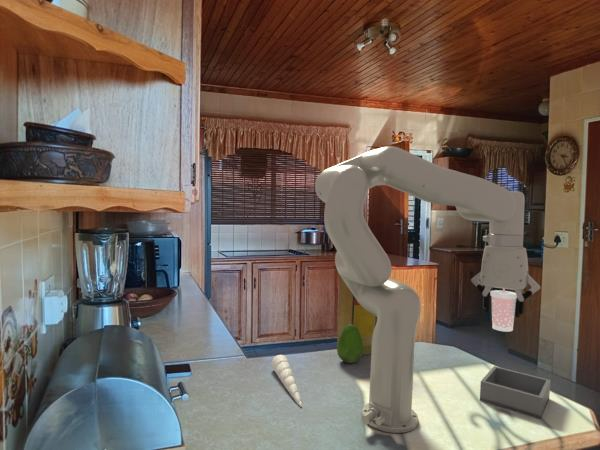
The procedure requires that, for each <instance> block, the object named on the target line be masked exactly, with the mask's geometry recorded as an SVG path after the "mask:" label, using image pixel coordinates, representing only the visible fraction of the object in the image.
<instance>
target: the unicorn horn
mask: <svg viewBox="0 0 600 450" xmlns="http://www.w3.org/2000/svg"><path fill="white" fill-rule="evenodd" d="M271 367H272V369H273V370H274V372H275V374H276V375H277V376H278V379H279V380H280V382H281V383H282V385H283V386H284V387H285V389H286V390H287V392H288V393H289V395H290V396H291V397H292V399H293V400H294V401H295V402H296V404H297V405H298V406H299V407H300V408H303V403H302V401H301V396H300V392H299V390H298V387H297V384H296V380H295V377H294V374H293V371H292V369H291V366H290V364H289V360H288V357H286V355H283V354H278V355H275V356H273V358H272V360H271Z"/></svg>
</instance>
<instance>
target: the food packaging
mask: <svg viewBox="0 0 600 450" xmlns="http://www.w3.org/2000/svg"><path fill="white" fill-rule="evenodd" d="M339 276H340V275H339ZM338 300H339V301H338V314H337V315H338V318H337V322H338V323H337V337H336V343H337V342H338V339H339V337H340V334H341V333H342V331H343V329H344V327H345V326H346V325H348V324H352V325H354V326H356V327H357V328H358V330H359V333H360V336H361V339H362V344H363V350H362V353H361V356H369V355H370V356H371V345H372V336H373V332H374V329H375V326H376V323H377V317H376V316H375V315H373V314H372V313H370V312H368V311H367V310H365V309H364V308H363V307H362V306H361V305H360V303H359V302H358V301H357V299H356V298H355V296H354V295H353V294H352V292H351V291H350V289H349V288H348V286H347V285H346V283H345V282H344V281H343V279H342V278H341V276H340V277H339V299H338Z"/></svg>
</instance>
